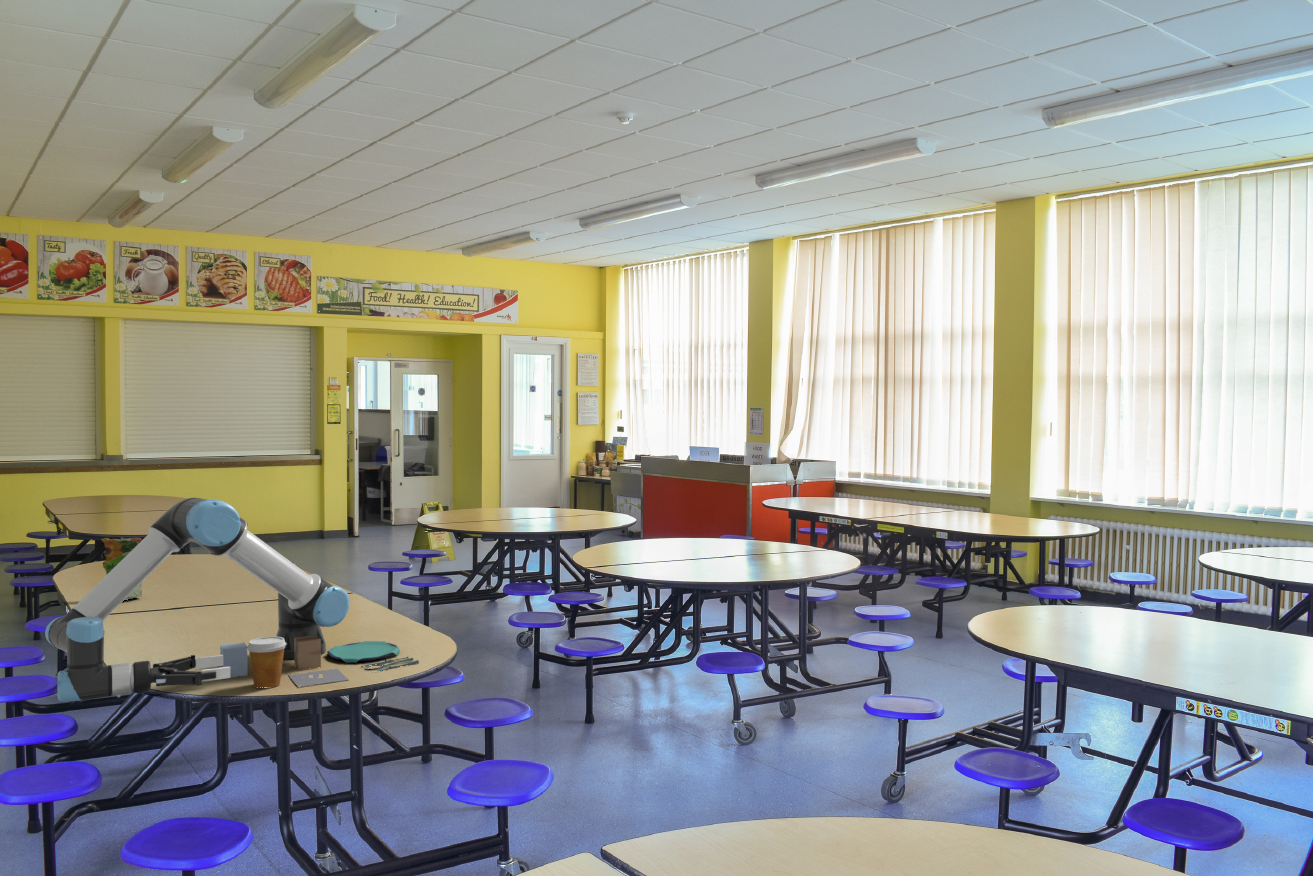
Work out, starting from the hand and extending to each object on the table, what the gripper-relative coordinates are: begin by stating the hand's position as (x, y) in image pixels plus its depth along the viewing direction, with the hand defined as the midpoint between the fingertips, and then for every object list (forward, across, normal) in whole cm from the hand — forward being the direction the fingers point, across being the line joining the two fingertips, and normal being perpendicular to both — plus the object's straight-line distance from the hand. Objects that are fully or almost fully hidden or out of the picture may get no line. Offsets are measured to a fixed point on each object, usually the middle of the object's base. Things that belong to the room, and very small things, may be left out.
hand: (226, 666), depth 236 cm
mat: (+23, 0, -6) cm, 24 cm away
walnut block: (+23, -14, -7) cm, 27 cm away
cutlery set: (+40, -13, -7) cm, 43 cm away
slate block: (+4, -16, -7) cm, 18 cm away
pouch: (-18, -149, -7) cm, 150 cm away
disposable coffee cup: (+10, 0, -7) cm, 12 cm away
